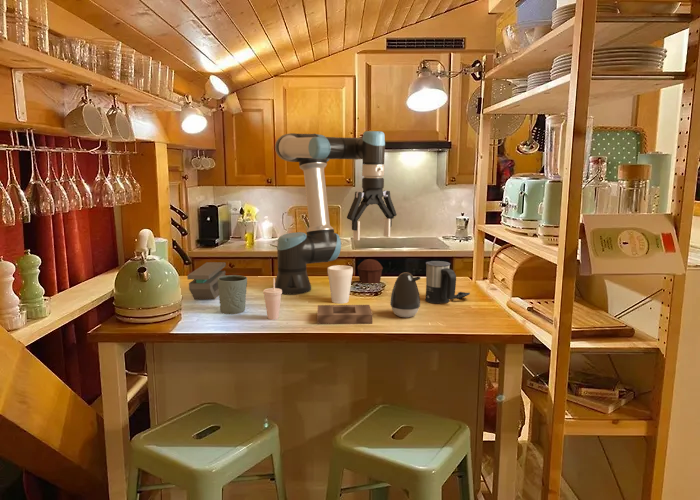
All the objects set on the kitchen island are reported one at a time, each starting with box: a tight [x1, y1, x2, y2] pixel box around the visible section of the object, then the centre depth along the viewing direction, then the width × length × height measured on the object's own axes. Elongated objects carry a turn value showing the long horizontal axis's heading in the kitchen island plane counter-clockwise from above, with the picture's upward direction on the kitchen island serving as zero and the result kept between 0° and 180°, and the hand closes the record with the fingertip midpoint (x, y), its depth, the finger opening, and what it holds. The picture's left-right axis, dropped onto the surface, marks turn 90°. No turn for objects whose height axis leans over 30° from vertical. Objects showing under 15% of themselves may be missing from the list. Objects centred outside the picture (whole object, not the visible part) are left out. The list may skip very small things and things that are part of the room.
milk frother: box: [424, 260, 471, 304], centre depth 198 cm, size 14×16×15 cm
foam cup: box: [327, 264, 354, 305], centre depth 196 cm, size 10×9×13 cm
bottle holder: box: [316, 304, 373, 325], centre depth 175 cm, size 18×12×3 cm, turn 93°
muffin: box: [357, 258, 384, 284], centre depth 227 cm, size 12×11×10 cm
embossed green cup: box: [218, 274, 248, 315], centre depth 183 cm, size 10×10×12 cm
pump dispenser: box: [390, 271, 421, 318], centre depth 178 cm, size 10×10×15 cm
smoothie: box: [262, 277, 283, 321], centre depth 174 cm, size 6×6×14 cm
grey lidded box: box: [187, 261, 227, 300], centre depth 204 cm, size 25×8×11 cm, turn 179°
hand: (371, 238), depth 182 cm, fingers open, 13 cm apart
